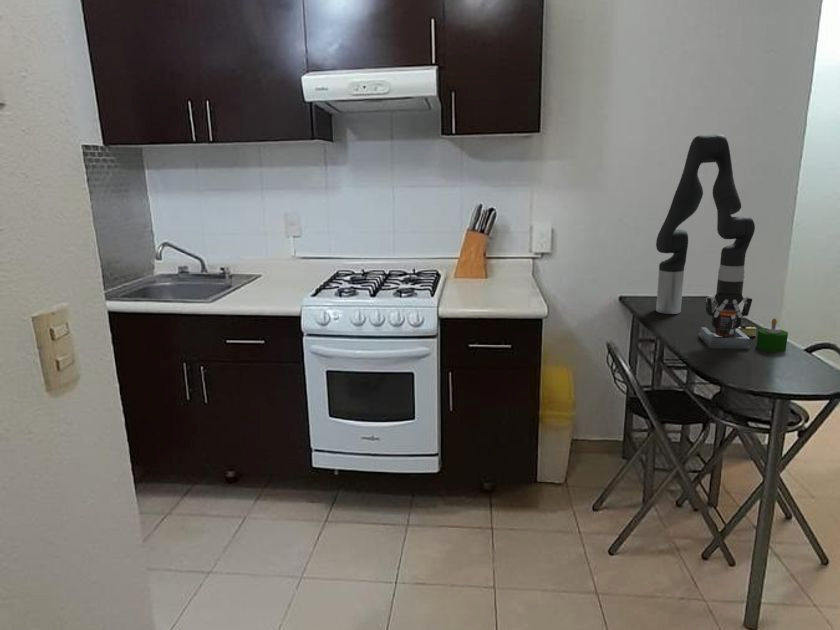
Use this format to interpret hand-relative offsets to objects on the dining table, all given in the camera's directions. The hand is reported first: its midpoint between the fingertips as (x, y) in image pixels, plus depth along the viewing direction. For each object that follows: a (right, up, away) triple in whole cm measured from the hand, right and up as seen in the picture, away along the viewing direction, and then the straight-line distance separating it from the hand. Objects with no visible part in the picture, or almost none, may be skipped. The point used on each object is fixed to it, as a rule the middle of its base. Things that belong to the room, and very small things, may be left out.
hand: (725, 327), depth 195 cm
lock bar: (+10, -3, +8) cm, 13 cm away
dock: (0, -5, +2) cm, 6 cm away
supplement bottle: (0, -3, +1) cm, 3 cm away
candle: (+12, -7, -5) cm, 15 cm away
